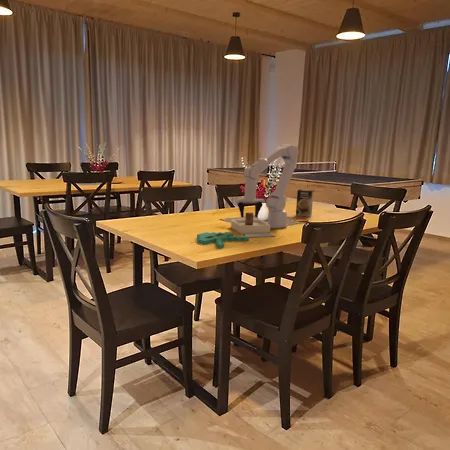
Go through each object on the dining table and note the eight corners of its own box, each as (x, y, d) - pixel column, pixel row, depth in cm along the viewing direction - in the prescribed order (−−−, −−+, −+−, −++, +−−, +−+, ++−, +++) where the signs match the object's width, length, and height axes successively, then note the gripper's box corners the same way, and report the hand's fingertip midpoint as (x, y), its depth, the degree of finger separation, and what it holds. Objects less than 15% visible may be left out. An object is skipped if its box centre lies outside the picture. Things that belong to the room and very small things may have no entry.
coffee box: (295, 216, 253) (297, 189, 250) (297, 214, 259) (299, 188, 255) (310, 217, 250) (312, 191, 246) (311, 215, 256) (313, 189, 252)
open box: (258, 226, 220) (259, 218, 219) (269, 232, 205) (270, 225, 204) (231, 227, 216) (231, 219, 215) (240, 234, 201) (240, 226, 200)
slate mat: (269, 233, 204) (269, 232, 204) (274, 236, 197) (274, 235, 197) (242, 234, 200) (242, 233, 200) (247, 237, 194) (247, 237, 193)
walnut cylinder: (251, 223, 214) (251, 212, 213) (254, 225, 210) (254, 213, 209) (244, 223, 213) (244, 212, 212) (246, 225, 209) (247, 213, 208)
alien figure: (248, 241, 189) (215, 234, 201) (248, 236, 188) (215, 230, 201) (220, 249, 174) (186, 241, 186) (220, 244, 173) (186, 236, 185)
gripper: (239, 191, 202) (238, 218, 205) (266, 191, 206) (265, 218, 209) (235, 189, 209) (234, 216, 212) (261, 189, 213) (260, 215, 216)
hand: (249, 217), depth 211 cm, fingers open, 7 cm apart
